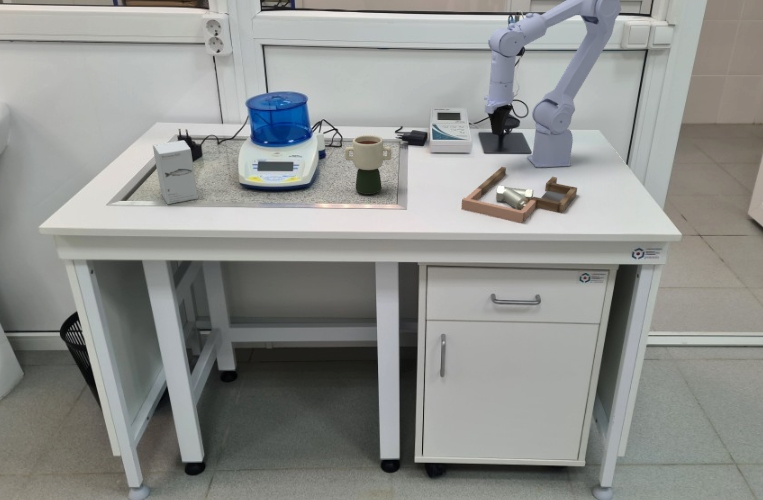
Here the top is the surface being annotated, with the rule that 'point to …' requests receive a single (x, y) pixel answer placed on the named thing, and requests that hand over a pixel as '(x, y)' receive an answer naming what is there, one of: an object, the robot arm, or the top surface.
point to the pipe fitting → (514, 196)
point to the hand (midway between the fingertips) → (496, 134)
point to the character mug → (368, 162)
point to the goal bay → (496, 208)
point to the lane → (551, 200)
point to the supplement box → (175, 171)
